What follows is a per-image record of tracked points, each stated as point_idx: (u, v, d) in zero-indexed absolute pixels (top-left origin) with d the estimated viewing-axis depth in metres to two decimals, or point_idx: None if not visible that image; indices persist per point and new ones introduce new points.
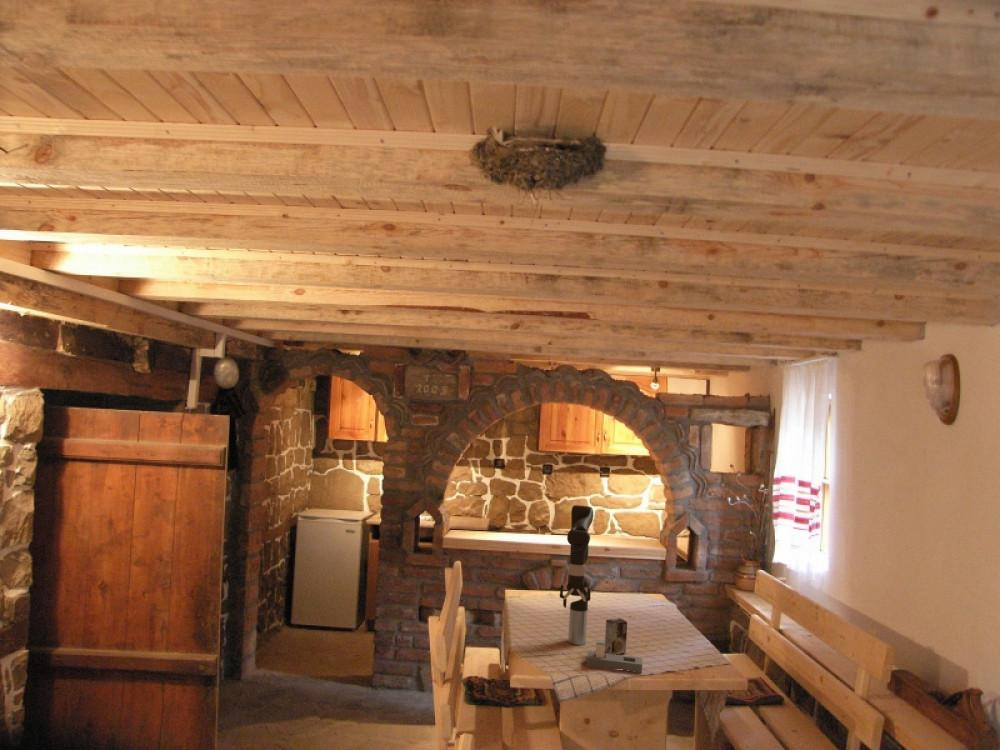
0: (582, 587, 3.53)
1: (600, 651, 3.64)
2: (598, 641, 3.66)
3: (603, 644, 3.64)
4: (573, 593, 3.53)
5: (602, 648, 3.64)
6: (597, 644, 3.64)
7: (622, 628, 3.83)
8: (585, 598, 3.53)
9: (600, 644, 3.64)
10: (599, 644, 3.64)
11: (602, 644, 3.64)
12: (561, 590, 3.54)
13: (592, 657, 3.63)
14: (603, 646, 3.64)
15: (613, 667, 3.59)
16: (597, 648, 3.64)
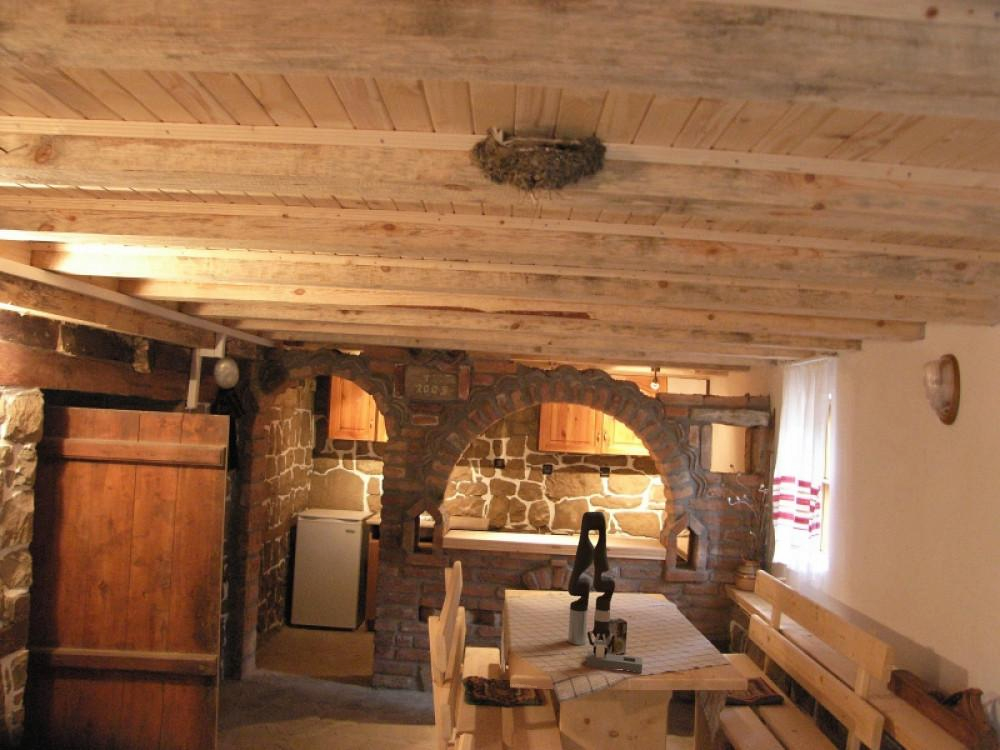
0: (608, 632, 3.64)
1: (600, 651, 3.64)
2: (598, 641, 3.66)
3: (603, 644, 3.64)
4: (600, 637, 3.65)
5: (602, 648, 3.64)
6: (597, 644, 3.64)
7: (622, 628, 3.83)
8: None
9: (600, 644, 3.64)
10: (599, 644, 3.64)
11: (602, 644, 3.64)
12: (589, 637, 3.66)
13: (592, 657, 3.63)
14: (603, 646, 3.64)
15: (613, 667, 3.59)
16: (597, 648, 3.64)
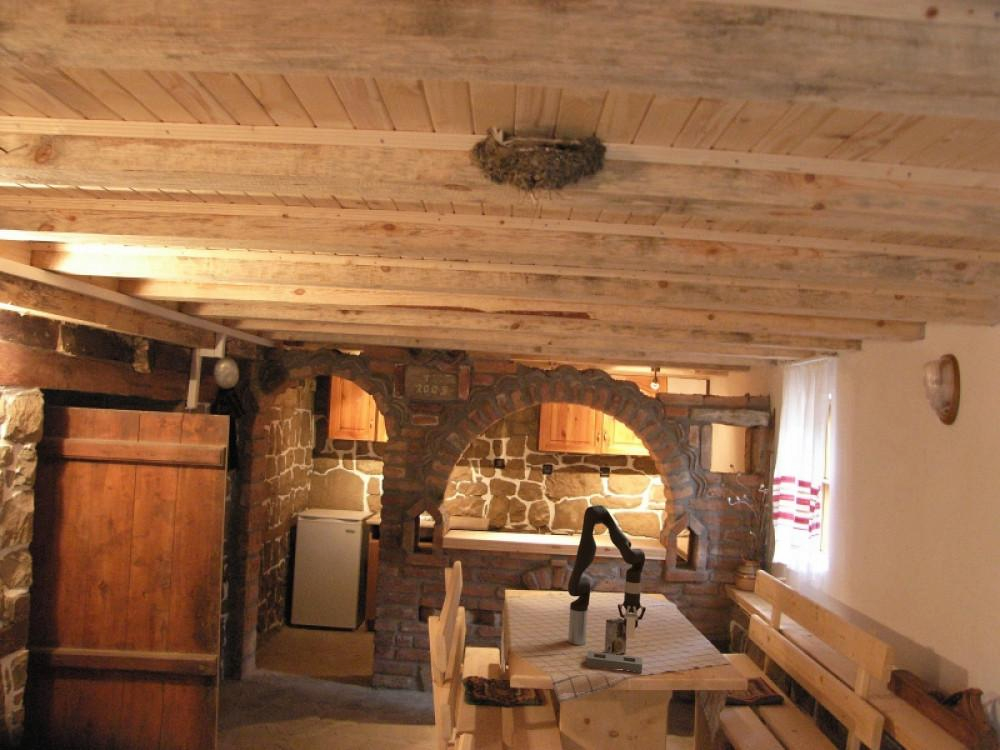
0: (639, 605, 3.62)
1: (631, 623, 3.62)
2: (629, 614, 3.64)
3: (634, 616, 3.61)
4: (631, 610, 3.63)
5: (633, 620, 3.61)
6: (628, 616, 3.62)
7: (622, 628, 3.83)
8: (637, 617, 3.63)
9: (631, 616, 3.62)
10: (630, 616, 3.62)
11: (633, 616, 3.62)
12: (619, 610, 3.64)
13: (592, 657, 3.63)
14: (634, 618, 3.61)
15: (613, 667, 3.59)
16: (628, 620, 3.62)
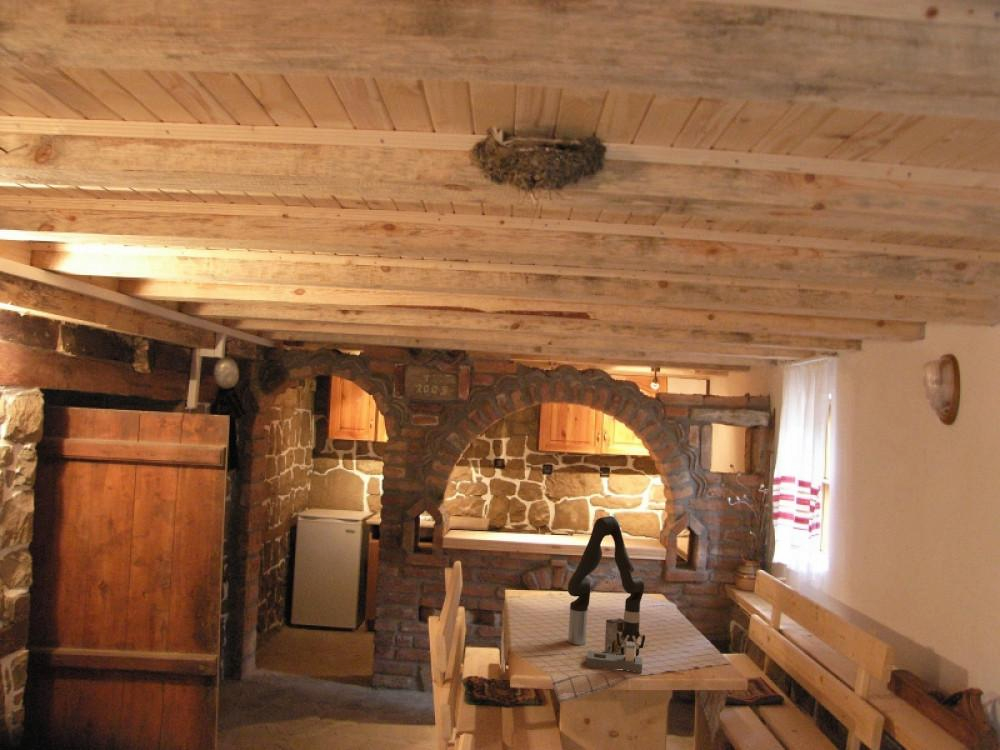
0: (638, 634, 3.62)
1: (630, 655, 3.61)
2: (627, 645, 3.64)
3: (633, 648, 3.61)
4: (629, 639, 3.63)
5: (632, 652, 3.61)
6: (627, 648, 3.62)
7: (622, 628, 3.83)
8: None
9: (630, 648, 3.61)
10: (629, 648, 3.62)
11: (632, 648, 3.61)
12: (617, 638, 3.63)
13: (592, 657, 3.63)
14: (633, 650, 3.61)
15: (613, 667, 3.59)
16: (627, 652, 3.62)
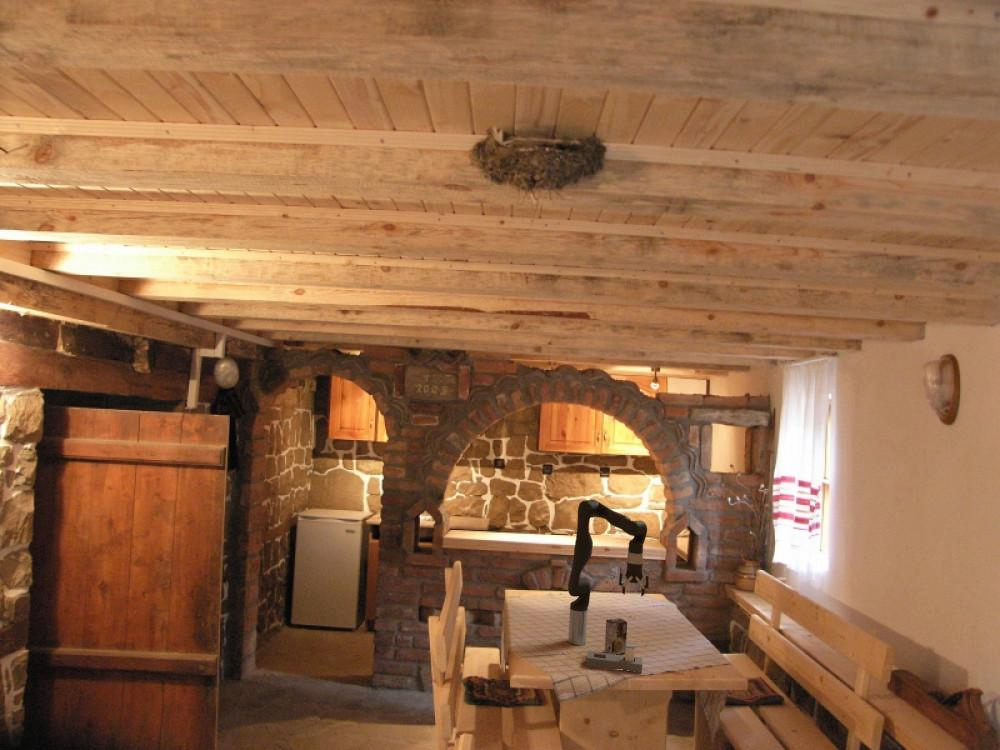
0: (640, 575, 3.69)
1: (630, 655, 3.61)
2: (627, 645, 3.64)
3: (633, 648, 3.61)
4: (632, 581, 3.69)
5: (632, 652, 3.61)
6: (627, 648, 3.62)
7: (622, 628, 3.83)
8: (643, 585, 3.69)
9: (630, 648, 3.61)
10: (629, 648, 3.62)
11: (632, 648, 3.61)
12: (620, 578, 3.70)
13: (592, 657, 3.63)
14: (633, 650, 3.61)
15: (613, 667, 3.59)
16: (627, 652, 3.62)
